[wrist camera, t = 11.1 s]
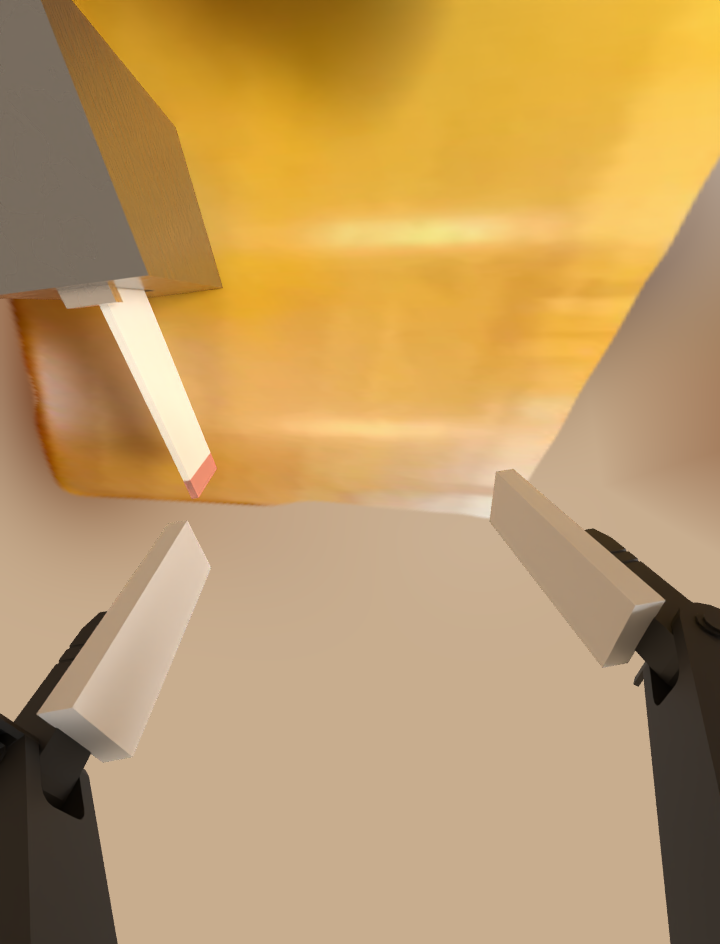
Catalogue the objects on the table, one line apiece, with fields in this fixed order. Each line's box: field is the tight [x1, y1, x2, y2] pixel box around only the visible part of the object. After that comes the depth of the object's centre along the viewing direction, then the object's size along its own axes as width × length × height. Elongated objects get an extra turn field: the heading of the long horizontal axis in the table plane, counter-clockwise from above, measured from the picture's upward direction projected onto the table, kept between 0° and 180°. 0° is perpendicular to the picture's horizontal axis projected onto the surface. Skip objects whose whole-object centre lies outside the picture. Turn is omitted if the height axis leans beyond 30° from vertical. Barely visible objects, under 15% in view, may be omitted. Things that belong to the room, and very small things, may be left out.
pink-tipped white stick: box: [99, 287, 217, 499], centre depth 27 cm, size 18×1×6 cm, turn 7°
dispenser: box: [0, 0, 223, 309], centre depth 22 cm, size 13×10×16 cm
